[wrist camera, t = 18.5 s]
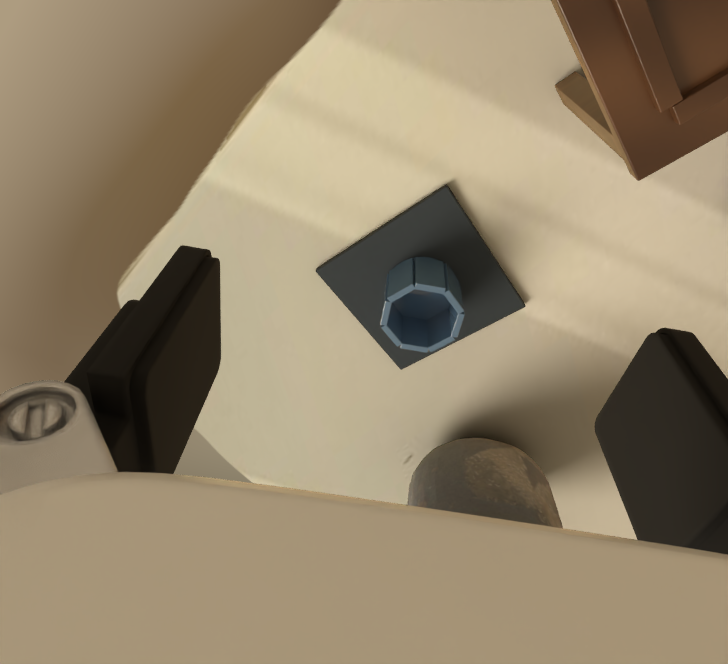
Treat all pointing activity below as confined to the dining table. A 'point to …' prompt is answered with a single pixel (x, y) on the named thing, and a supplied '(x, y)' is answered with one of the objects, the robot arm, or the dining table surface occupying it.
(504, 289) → the mat
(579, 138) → the dining table surface
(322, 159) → the dining table surface
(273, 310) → the dining table surface
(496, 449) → the bowl
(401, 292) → the bowl small
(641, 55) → the small table
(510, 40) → the dining table surface
